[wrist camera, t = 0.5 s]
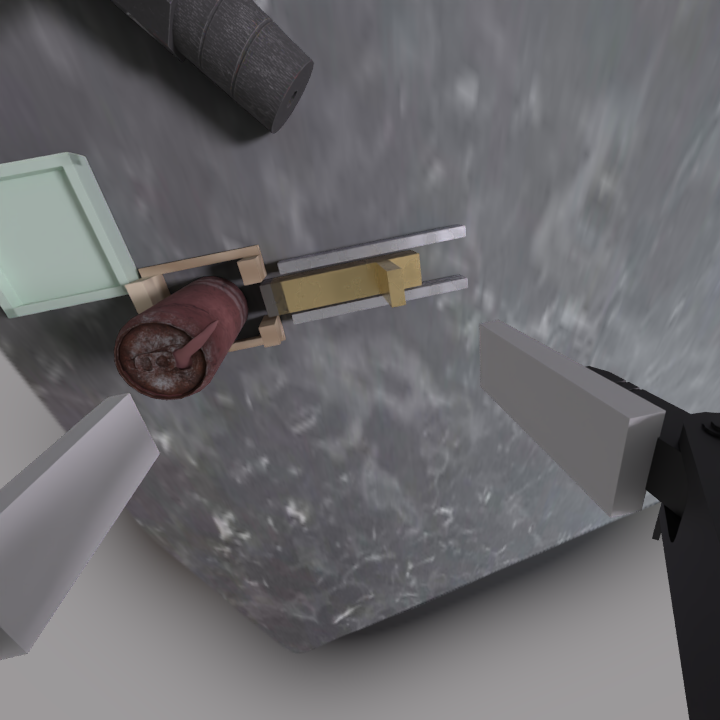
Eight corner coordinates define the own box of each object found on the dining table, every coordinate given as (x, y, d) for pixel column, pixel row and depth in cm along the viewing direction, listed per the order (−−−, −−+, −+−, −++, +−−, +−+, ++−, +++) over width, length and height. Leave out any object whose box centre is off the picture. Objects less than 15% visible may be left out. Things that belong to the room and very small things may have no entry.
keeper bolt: (263, 280, 33) (250, 299, 26) (410, 250, 34) (437, 260, 27) (272, 308, 34) (261, 335, 27) (413, 279, 35) (439, 297, 28)
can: (263, 307, 34) (235, 364, 22) (219, 345, 35) (168, 421, 23) (217, 260, 32) (155, 292, 19) (171, 302, 33) (84, 360, 20)
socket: (141, 267, 31) (119, 275, 28) (258, 244, 32) (251, 249, 28) (183, 359, 35) (168, 376, 32) (285, 337, 36) (282, 351, 32)
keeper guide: (279, 260, 33) (277, 263, 31) (457, 224, 33) (465, 225, 32) (295, 318, 35) (294, 324, 33) (459, 283, 36) (467, 287, 34)
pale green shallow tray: (-54, 181, 27) (-83, 179, 25) (85, 156, 27) (67, 151, 25) (28, 311, 32) (8, 318, 30) (145, 287, 32) (134, 293, 30)
